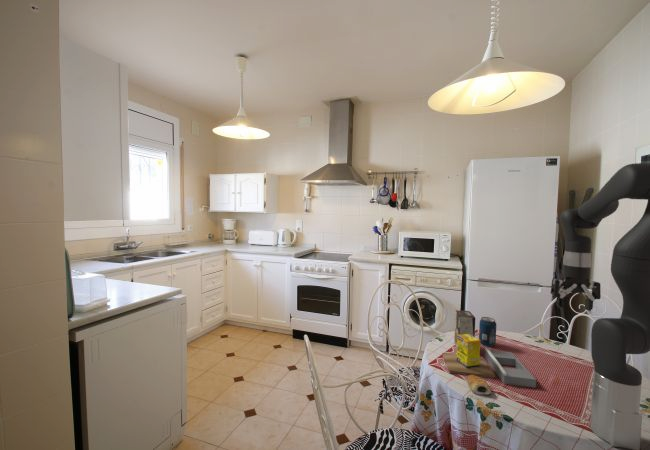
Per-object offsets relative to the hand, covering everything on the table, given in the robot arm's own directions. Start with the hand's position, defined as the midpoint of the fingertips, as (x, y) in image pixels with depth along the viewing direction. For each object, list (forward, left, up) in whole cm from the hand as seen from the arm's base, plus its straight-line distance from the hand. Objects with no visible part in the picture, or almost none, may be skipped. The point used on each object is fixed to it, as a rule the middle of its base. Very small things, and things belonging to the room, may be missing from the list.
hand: (574, 308), depth 103 cm
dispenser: (+4, +19, -28) cm, 34 cm away
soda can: (+27, +19, -28) cm, 43 cm away
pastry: (-11, +34, -28) cm, 46 cm away
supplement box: (+4, +34, -27) cm, 43 cm away
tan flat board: (+4, +34, -28) cm, 44 cm away
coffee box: (+20, +31, -28) cm, 46 cm away
